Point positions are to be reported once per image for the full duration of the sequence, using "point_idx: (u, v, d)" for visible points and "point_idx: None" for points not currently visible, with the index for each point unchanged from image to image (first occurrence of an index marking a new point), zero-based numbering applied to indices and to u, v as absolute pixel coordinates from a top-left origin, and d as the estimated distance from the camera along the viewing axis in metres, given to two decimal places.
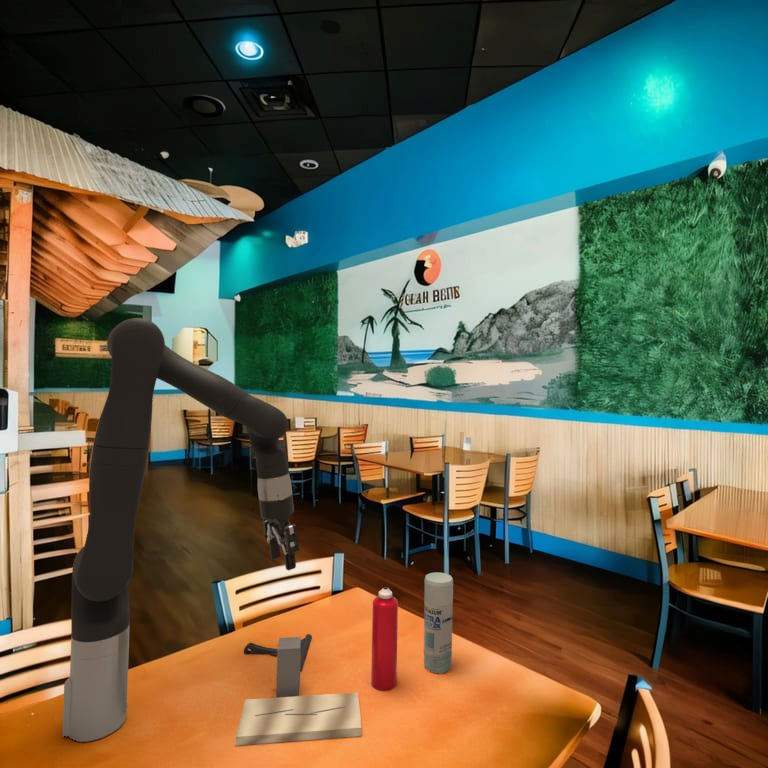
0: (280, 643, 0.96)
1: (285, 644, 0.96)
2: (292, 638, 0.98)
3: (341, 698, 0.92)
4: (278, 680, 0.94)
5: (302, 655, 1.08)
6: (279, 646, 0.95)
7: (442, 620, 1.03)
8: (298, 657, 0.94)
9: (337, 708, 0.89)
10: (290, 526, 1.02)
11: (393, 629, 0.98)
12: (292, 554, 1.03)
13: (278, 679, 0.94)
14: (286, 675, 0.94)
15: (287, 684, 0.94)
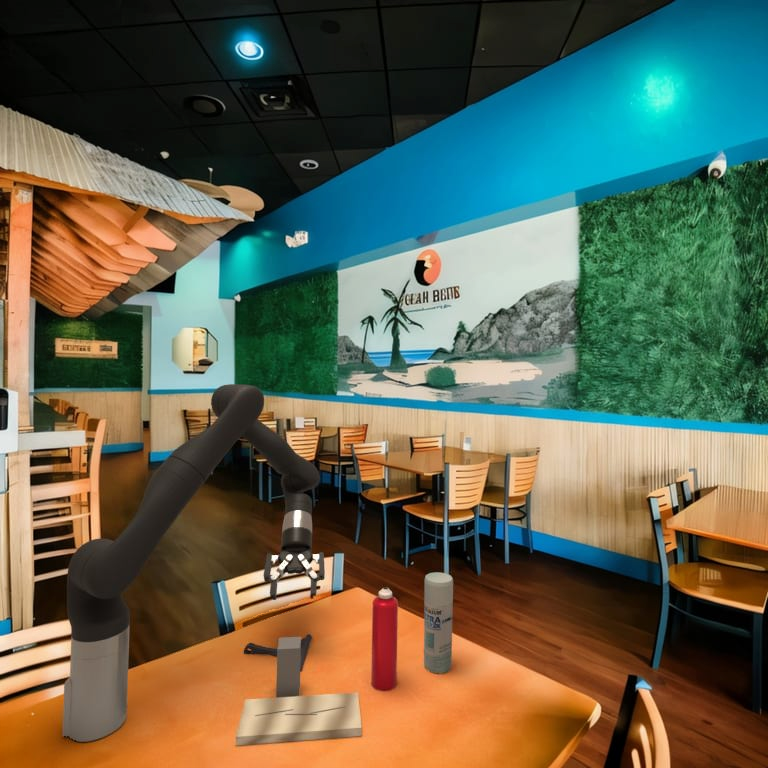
0: (280, 643, 0.96)
1: (285, 644, 0.96)
2: (292, 638, 0.98)
3: (341, 698, 0.92)
4: (278, 680, 0.94)
5: (302, 655, 1.08)
6: (279, 646, 0.95)
7: (442, 620, 1.03)
8: (298, 657, 0.94)
9: (337, 708, 0.89)
10: None
11: (393, 629, 0.98)
12: (316, 582, 1.10)
13: (278, 679, 0.94)
14: (286, 675, 0.94)
15: (287, 684, 0.94)
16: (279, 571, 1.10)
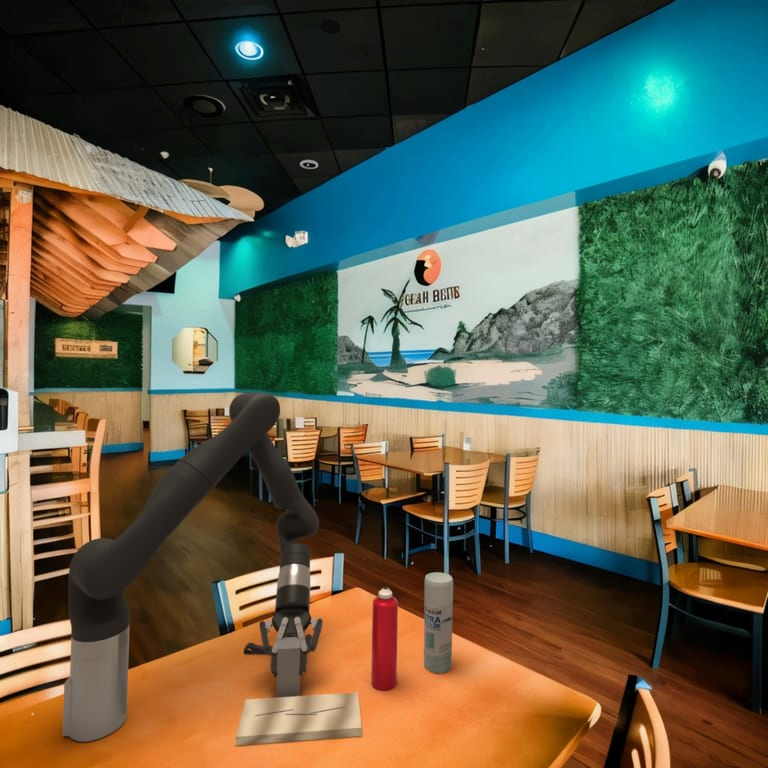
0: (280, 643, 0.96)
1: (285, 643, 0.96)
2: (292, 638, 0.98)
3: (341, 698, 0.92)
4: (278, 680, 0.94)
5: None
6: (279, 646, 0.95)
7: (442, 620, 1.03)
8: (298, 657, 0.94)
9: (337, 708, 0.89)
10: None
11: (393, 629, 0.98)
12: None
13: (278, 679, 0.94)
14: (286, 675, 0.94)
15: (287, 684, 0.94)
16: None
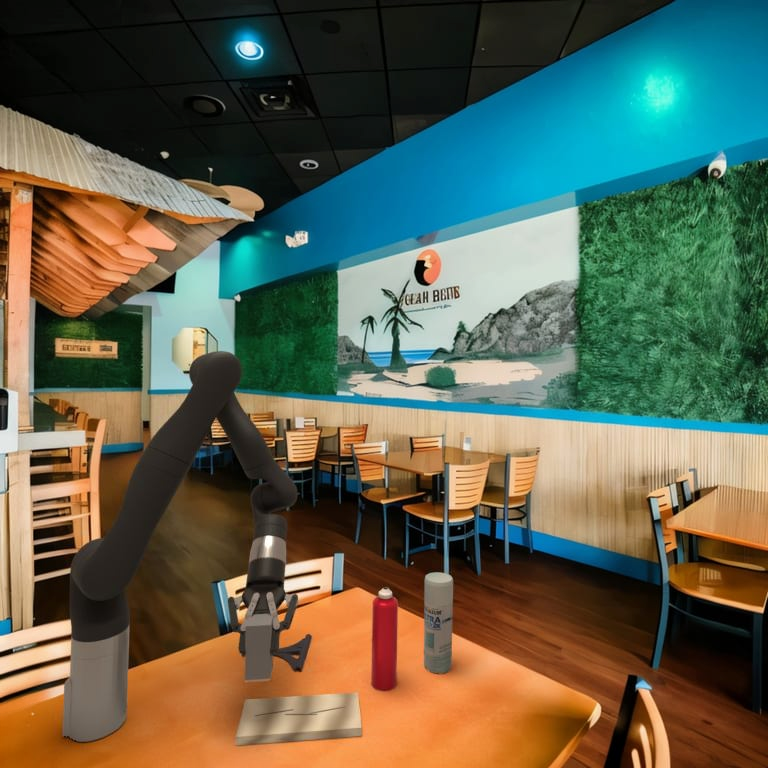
0: (249, 620, 0.87)
1: (255, 620, 0.86)
2: (264, 614, 0.89)
3: (341, 698, 0.92)
4: (246, 660, 0.84)
5: (302, 655, 1.08)
6: (248, 623, 0.85)
7: (442, 620, 1.03)
8: (269, 635, 0.85)
9: (337, 708, 0.89)
10: None
11: (393, 629, 0.98)
12: (279, 633, 0.88)
13: (247, 659, 0.84)
14: (256, 655, 0.85)
15: (257, 664, 0.85)
16: (248, 617, 0.88)
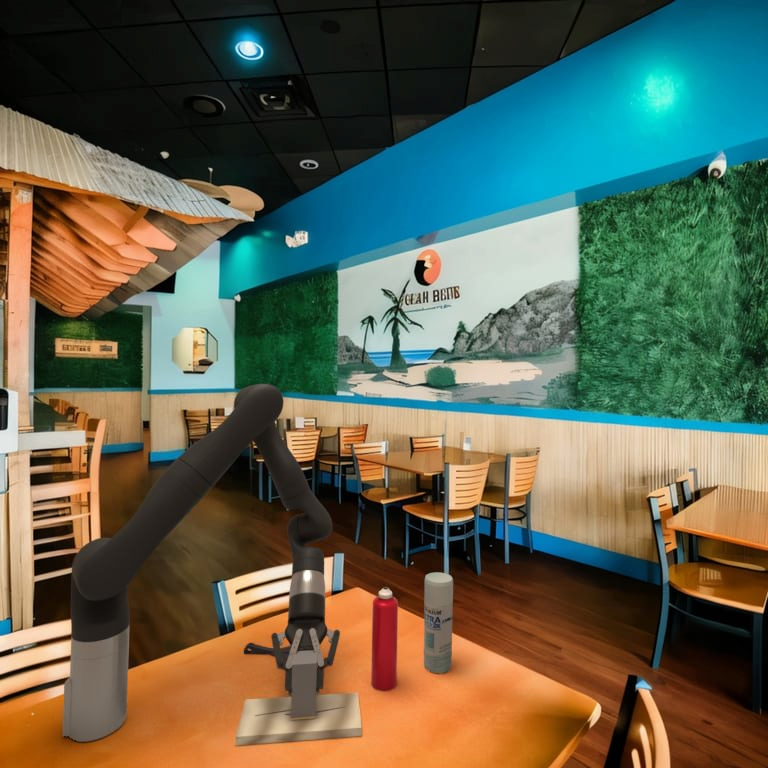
0: (295, 657, 0.88)
1: (300, 658, 0.88)
2: (307, 651, 0.90)
3: (341, 698, 0.92)
4: (293, 698, 0.85)
5: None
6: (294, 661, 0.87)
7: (442, 620, 1.03)
8: (315, 673, 0.86)
9: (337, 708, 0.89)
10: None
11: (393, 629, 0.98)
12: (323, 670, 0.89)
13: (293, 697, 0.85)
14: (302, 693, 0.86)
15: (303, 702, 0.86)
16: None
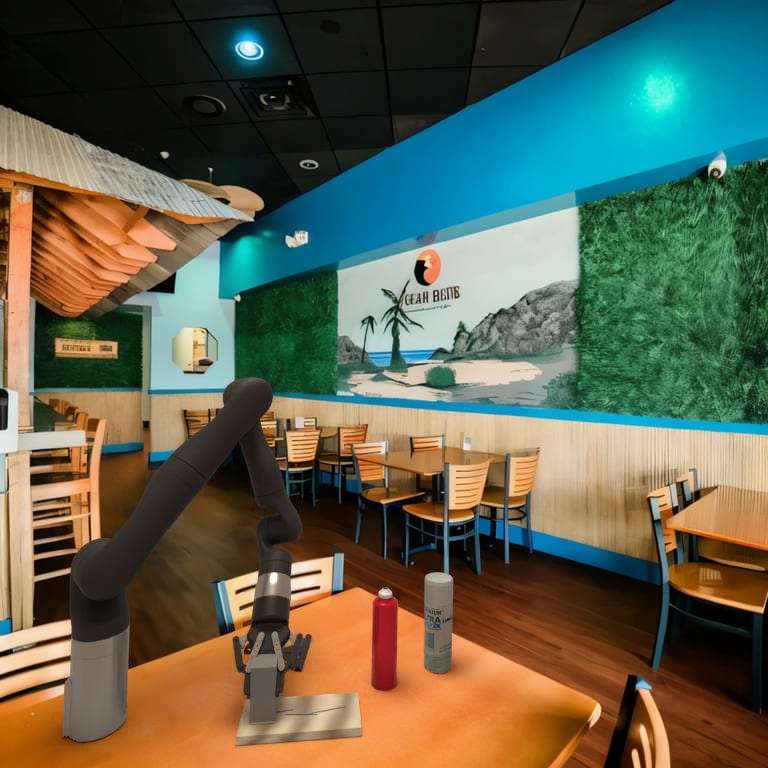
0: (254, 661, 0.87)
1: (260, 662, 0.86)
2: (269, 655, 0.89)
3: (341, 698, 0.92)
4: (251, 702, 0.84)
5: (302, 655, 1.08)
6: (253, 664, 0.85)
7: (442, 620, 1.03)
8: (274, 677, 0.85)
9: (337, 708, 0.89)
10: None
11: (393, 629, 0.98)
12: (284, 674, 0.88)
13: (252, 701, 0.84)
14: (261, 697, 0.84)
15: (262, 707, 0.84)
16: None
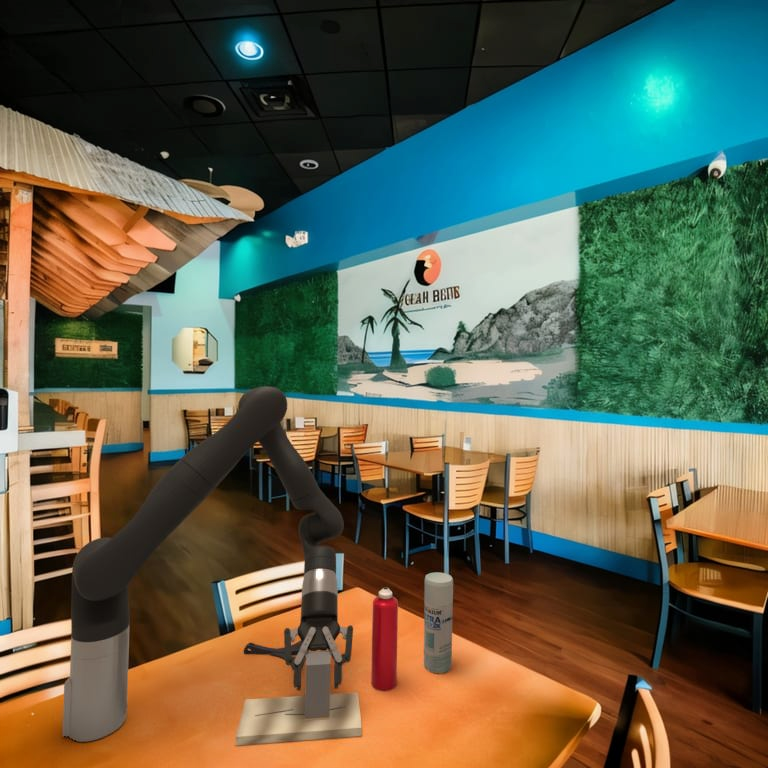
0: (308, 658, 0.88)
1: (314, 659, 0.88)
2: (321, 652, 0.90)
3: (341, 698, 0.92)
4: (306, 699, 0.86)
5: None
6: (307, 662, 0.87)
7: (442, 620, 1.03)
8: (328, 674, 0.86)
9: (337, 708, 0.89)
10: None
11: (393, 629, 0.98)
12: (341, 666, 0.90)
13: (307, 698, 0.86)
14: (316, 694, 0.86)
15: (317, 703, 0.86)
16: (303, 651, 0.89)
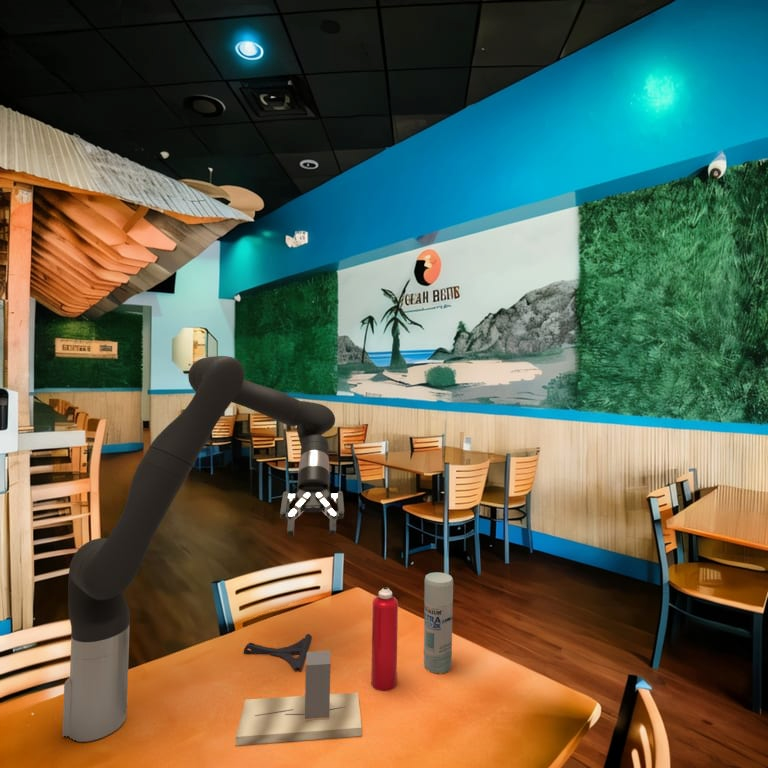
0: (308, 658, 0.88)
1: (314, 659, 0.88)
2: (321, 652, 0.90)
3: (341, 698, 0.92)
4: (306, 699, 0.86)
5: (302, 655, 1.08)
6: (307, 661, 0.87)
7: (442, 620, 1.03)
8: (328, 674, 0.86)
9: (337, 708, 0.89)
10: None
11: (393, 629, 0.98)
12: None
13: (307, 698, 0.86)
14: (316, 694, 0.86)
15: (317, 703, 0.86)
16: (296, 508, 1.05)
